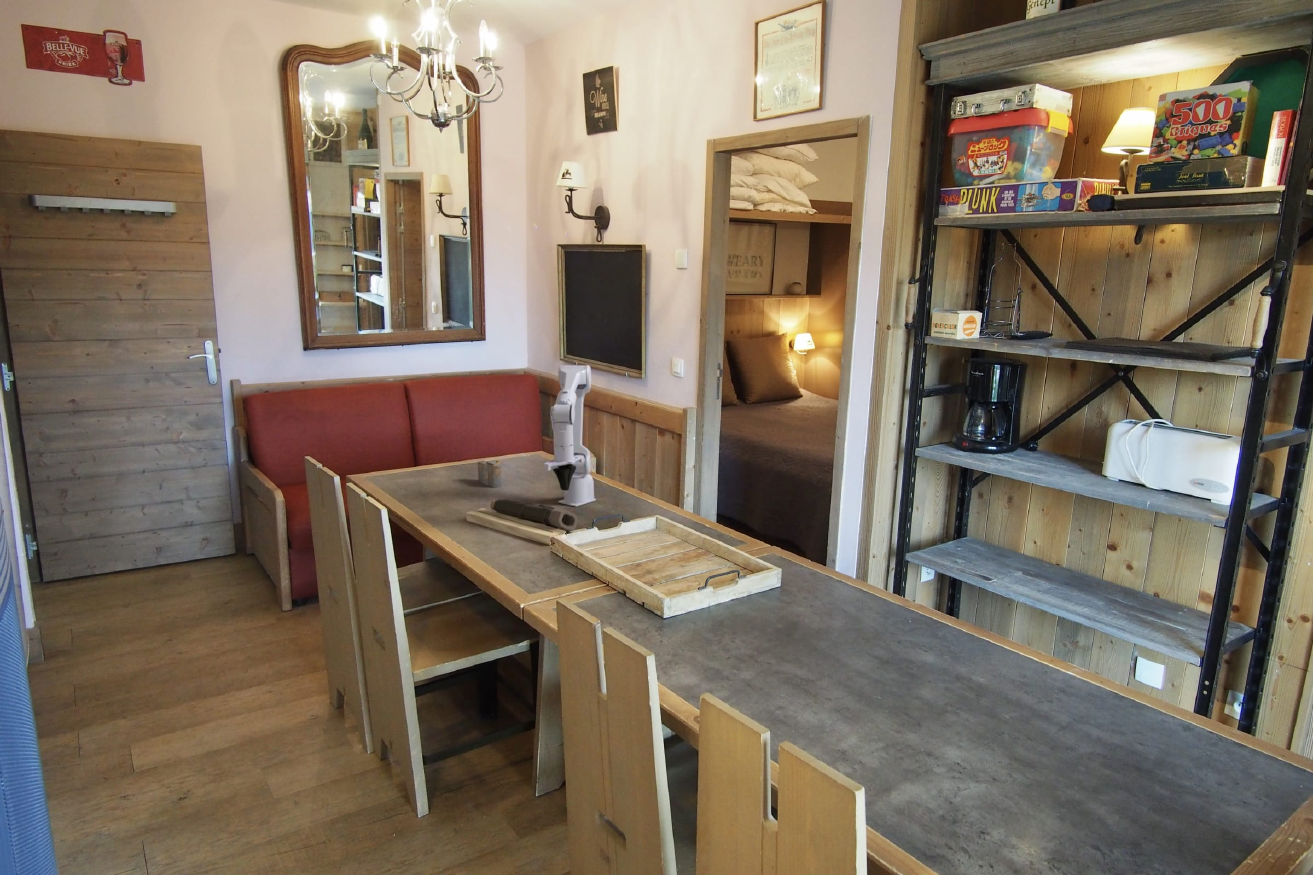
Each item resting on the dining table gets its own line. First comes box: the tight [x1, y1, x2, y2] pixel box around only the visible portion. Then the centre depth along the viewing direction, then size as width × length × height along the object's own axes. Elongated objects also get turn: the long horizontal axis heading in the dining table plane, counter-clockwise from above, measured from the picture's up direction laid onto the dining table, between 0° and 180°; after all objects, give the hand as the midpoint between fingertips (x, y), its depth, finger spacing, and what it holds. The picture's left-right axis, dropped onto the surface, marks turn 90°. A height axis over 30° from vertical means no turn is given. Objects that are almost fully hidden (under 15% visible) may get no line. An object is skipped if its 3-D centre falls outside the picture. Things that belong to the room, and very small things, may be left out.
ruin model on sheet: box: [477, 459, 502, 489], centre depth 283 cm, size 11×3×10 cm, turn 41°
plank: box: [465, 507, 567, 546], centre depth 233 cm, size 6×36×3 cm, turn 51°
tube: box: [489, 499, 579, 532], centre depth 237 cm, size 11×7×30 cm
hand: (564, 489), depth 240 cm, fingers closed
